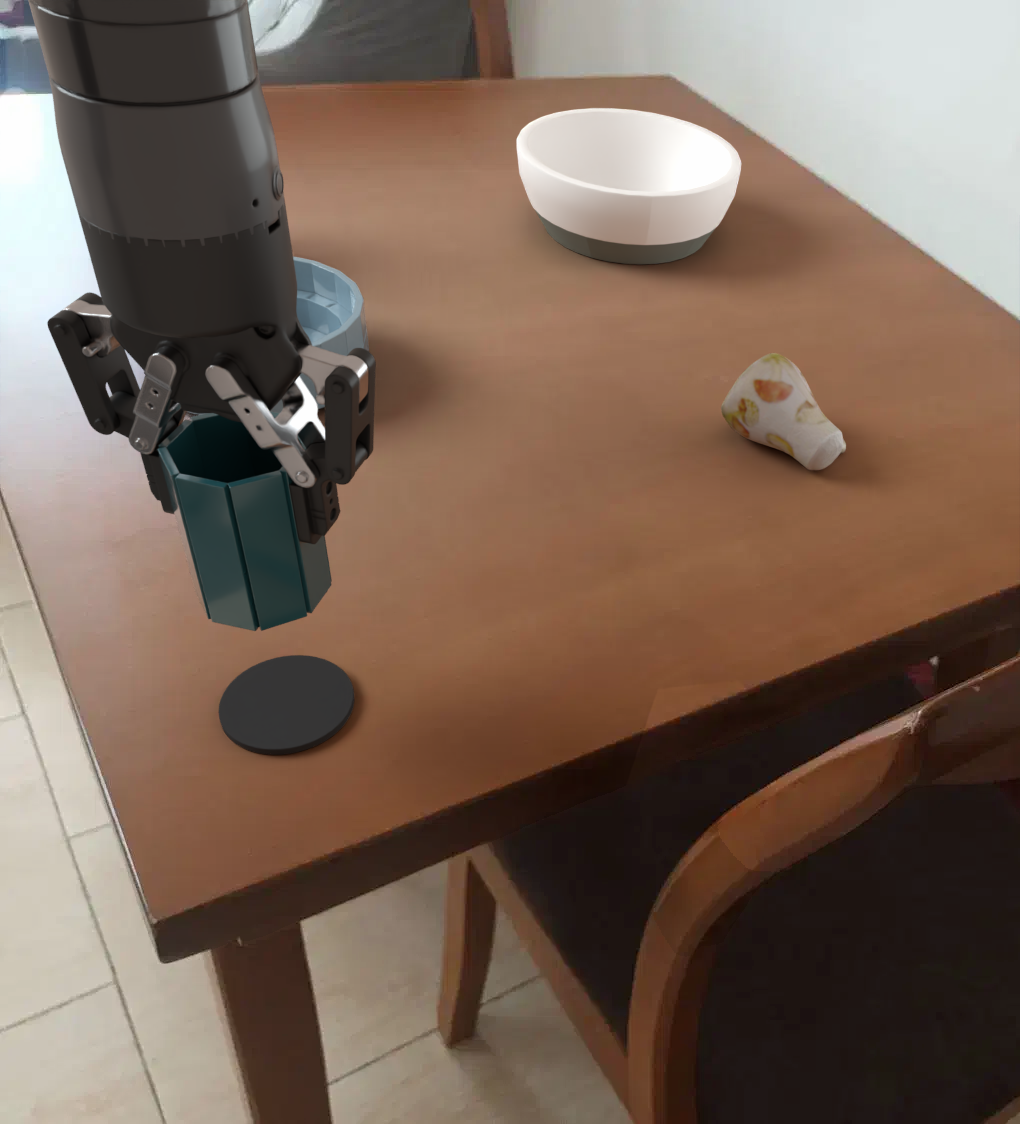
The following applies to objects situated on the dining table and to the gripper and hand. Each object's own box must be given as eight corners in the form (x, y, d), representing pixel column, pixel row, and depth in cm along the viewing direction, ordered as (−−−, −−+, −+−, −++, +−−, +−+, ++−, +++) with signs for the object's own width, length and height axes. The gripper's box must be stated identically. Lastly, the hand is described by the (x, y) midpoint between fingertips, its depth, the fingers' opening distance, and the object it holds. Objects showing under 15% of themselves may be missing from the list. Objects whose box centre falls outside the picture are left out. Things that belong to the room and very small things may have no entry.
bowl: (705, 184, 128) (713, 111, 123) (756, 277, 112) (767, 197, 107) (506, 180, 122) (505, 102, 117) (529, 278, 106) (529, 193, 101)
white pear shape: (815, 500, 86) (768, 387, 81) (737, 484, 93) (690, 380, 88) (877, 448, 89) (836, 336, 84) (798, 437, 97) (755, 333, 92)
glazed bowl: (104, 402, 83) (83, 330, 79) (218, 304, 96) (205, 238, 92) (313, 445, 83) (302, 375, 79) (401, 341, 95) (396, 276, 91)
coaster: (194, 739, 62) (192, 733, 61) (259, 649, 67) (258, 643, 67) (320, 767, 61) (319, 761, 61) (375, 674, 67) (374, 669, 66)
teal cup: (174, 614, 56) (132, 468, 50) (238, 538, 61) (207, 397, 55) (293, 639, 56) (265, 496, 50) (348, 561, 60) (328, 422, 54)
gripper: (-58, 191, 42) (63, 536, 53) (311, 265, 41) (357, 598, 52) (68, 125, 47) (155, 448, 58) (395, 189, 47) (420, 504, 58)
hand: (250, 518), depth 55 cm, fingers closed on teal cup, 6 cm apart
